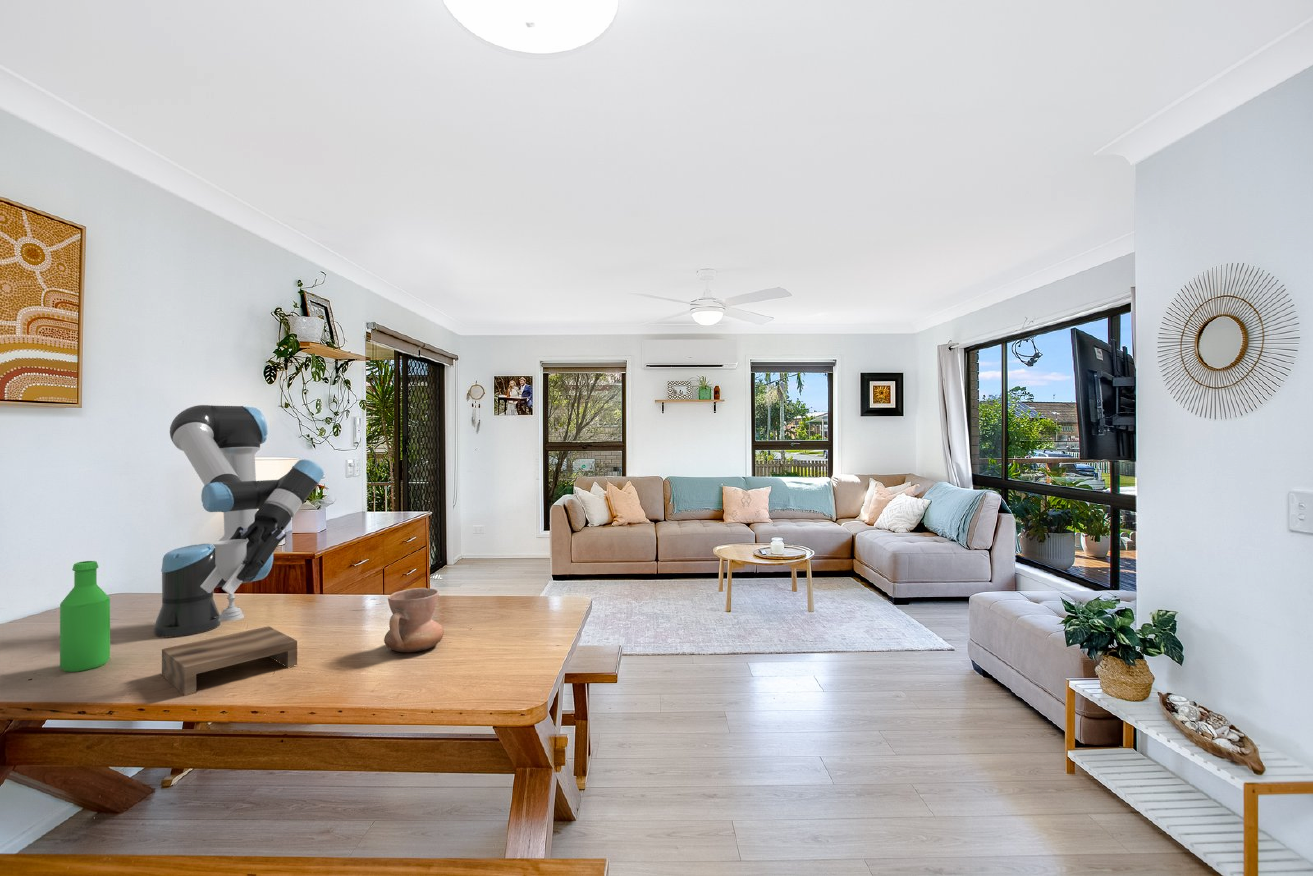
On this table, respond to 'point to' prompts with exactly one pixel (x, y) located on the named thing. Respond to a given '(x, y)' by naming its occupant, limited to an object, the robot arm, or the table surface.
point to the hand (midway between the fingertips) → (216, 590)
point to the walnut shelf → (224, 654)
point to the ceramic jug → (413, 620)
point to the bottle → (84, 622)
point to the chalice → (230, 570)
